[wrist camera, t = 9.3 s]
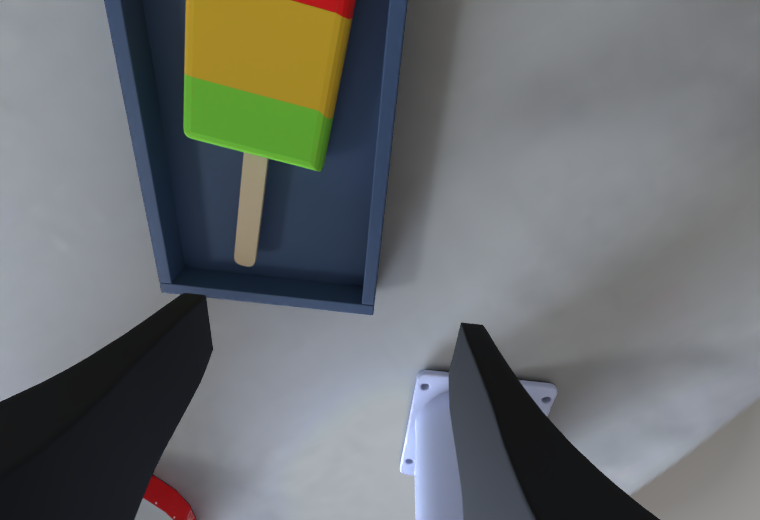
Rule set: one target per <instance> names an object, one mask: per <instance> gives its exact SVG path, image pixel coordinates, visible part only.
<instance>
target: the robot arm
mask: <svg viewBox="0 0 760 520" xmlns="http://www.w3.org/2000/svg"><path fill="white" fill-rule="evenodd" d="M212 351H213V345H212V338H211V331H210V323H209V316H208V308H207V301H206V295H201V294H192V293H183V294H182V295H180V296H178V297H177V298H176V299H174V300H173V301H171V302H170V303H168V304H167V305H166V306H164V307H163V308H161V309H160V310H159V311H157V312H156V313H154V314H153V315H152V316H150V317H149V318H147V319H146V320H144V321H143V322H142V323H140V324H139V325H137V326H136V327H134V328H133V329H131V330H130V331H128V332H127V333H126V334H124V335H123V336H121V337H119V338H118V339H116V340H115V341H113V342H112V343H110V344H108V345H107V346H105V347H104V348H102V349H100V350H99V351H97V352H96V353H94V354H93V355H91V356H89V357H88V358H86V359H84V360H83V361H81V362H79V363H77V364H76V365H74V366H72V367H70V368H69V369H67V370H65V371H63V372H61V373H59V374H57V375H55V376H53V377H52V378H50V379H48V380H46V381H44V382H42V383H40V384H38V385H36V386H33V387H31V388H29V389H27V390H25V391H23V392H20V393H18V394H16V395H14V396H12V397H10V398H8V399H5V400H3V401H1V402H0V520H134V519H135V517H136V514H137V512H138V509H139V507H140V504H141V501H142V499H143V497H144V494H145V492H146V489H147V487H148V485H149V482H150V480H151V477H152V475H153V473H154V470H155V468H156V466H157V464H158V462H159V460H160V458H161V455H162V453H163V451H164V450H165V448H166V446H167V444H168V442H169V440H170V438H171V437H172V435H173V433H174V431H175V429H176V427H177V425H178V424H179V422H180V420H181V418H182V416H183V414H184V413H185V411H186V409H187V407H188V405H189V403H190V401H191V399H192V398H193V396H194V394H195V392H196V390H197V388H198V386H199V384H200V382H201V380H202V378H203V375H204V372H205V370H206V367H207V365H208V362H209V359H210V356H211V354H212ZM423 384H427V385H423ZM556 395H557V389H556V387H555V385H553V384H551V383H544V382H534V381H525V380H518V378H517V377H516V375H515V374H514V373H513V371H512V370H511V368H510V367H509V365H508V364H507V362H506V361H505V359H504V358H503V356H502V355H501V353H500V351H499V350H498V348H497V347H496V345H495V343H494V342H493V340H492V338H491V337H490V335H489V333H488V332H487V330H486V329H485V327H484V326H483V325H478V324H469V323H461V325H460V329H459V333H458V338H457V342H456V346H455V350H454V354H453V358H452V362H451V366H450V370H449V372H442V371H432V370H422V371H420V372H419V373H418V375H417V379H416V384H415V390H414V395H413V400H412V405H411V410H410V416H409V421H408V426H407V431H406V436H405V442H404V447H403V452H402V457H401V462H400V471H401V473H403V474H406V475H415V520H660V519H658V518H657V517H656V516H654V515H653V514H652V513H650V512H649V511H648V510H646V509H645V508H643V507H642V506H641V505H640V504H639V503H637V502H636V501H635V500H634V499H632V498H631V497H630V496H629V495H628V494H626V493H625V492H624V491H623V490H621V489H620V488H619V487H618V486H617V485H615V484H614V483H613V482H612V481H611V480H610V479H609V478H607V477H606V476H605V475H604V474H603V473H602V472H601V471H599V470H598V469H597V468H596V467H595V466H594V465H593V464H592V463H591V462H590V461H589V460H588V459H587V458H586V457H585V456H584V455H583V454H581V453H580V452H579V451H578V450H577V449H576V448H575V447H574V446H573V445H572V444H571V443H570V442H569V441H568V440H567V438H566V437H565V436H564V435H563V434H562V433H561V432H560V431H559V430H558V429H557V428H556V426H555V425H554V424H553V423H552V422H551V421H550V420H549V419H548V417H547V416H548V414H549V412H550V409H551V407H552V405H553V402H554V400H555V398H556ZM544 397H546V398H544Z"/></svg>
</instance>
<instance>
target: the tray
mask: <svg viewBox="0 0 760 520" xmlns="http://www.w3.org/2000/svg"><path fill="white" fill-rule="evenodd" d="M407 1H408V0H356V3H355V8H354V13H353V19H352V24H351V29H350V34H349V39H348V44H347V50H346V55H345V60H344V65H343V70H342V75H341V81H340V86H339V91H338V96H337V101H336V106H335V112H334V117H333V122H332V127H331V132H330V137H329V143H328V148H327V153H326V158H325V163H324V167H323V169H322V170H321V171H320V172H319V171H315V170H311V169H307V168H303V167H299V166H296V165H292V164H288V163H284V162H280V161H276V160H272V159H269V162H268V170H267V178H266V186H265V194H264V202H263V210H262V218H261V226H260V234H259V242H258V250H257V258H256V261H255V263H254V265H253V266H250V267H247V266H242V265H239V264H238V263H236V261H235V259H234V252H235V241H236V231H237V220H238V209H239V198H240V188H241V177H242V166H243V156H244V152H241V151H237V150H233V149H229V148H225V147H221V146H218V145H214V144H210V143H206V142H202V141H198V140H194V139H191V138H188V137H187V136H186V135H185V133H184V129H183V119H184V67H185V15H186V0H104V2H105V7H106V12H107V17H108V22H109V27H110V32H111V38H112V43H113V48H114V53H115V58H116V63H117V68H118V73H119V78H120V83H121V88H122V94H123V99H124V104H125V109H126V114H127V119H128V124H129V129H130V134H131V139H132V145H133V150H134V155H135V160H136V165H137V170H138V175H139V180H140V185H141V190H142V195H143V201H144V206H145V211H146V216H147V221H148V226H149V231H150V236H151V241H152V246H153V251H154V257H155V262H156V267H157V272H158V277H159V282H160V287H161V292H162V293H171V294H181V295H182V294H183V293H192V294H201V295H206V297H208V298H218V299H227V300H236V301H245V302H255V303H264V304H273V305H282V306H291V307H301V308H310V309H319V310H328V311H338V312H347V313H356V314H365V315H373V311H374V302H375V293H376V284H377V275H378V266H379V257H380V247H381V238H382V229H383V220H384V211H385V202H386V193H387V184H388V175H389V165H390V156H391V147H392V138H393V129H394V120H395V111H396V102H397V93H398V83H399V74H400V65H401V56H402V47H403V38H404V29H405V20H406V10H407Z"/></svg>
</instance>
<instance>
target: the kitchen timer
mask: <svg viewBox="0 0 760 520" xmlns="http://www.w3.org/2000/svg"><path fill="white" fill-rule="evenodd" d="M134 520H196V518H195V516H194V514H193V511H192V509H191V507H190V505H189V504H188V503H187V502H186V501H185V500H184V499H183V497H182V496H181V495H180V494H179V493H178V492H177V491H176V490H175V489H173V488H172V487H170V486H169V485H167V484H166V483H164V482H163V481H161V480H160V479H158V478H157V477H155V476H153V475H152V477H151V480H150V482H149V485H148V487H147V489H146V492H145V494H144V497H143V499H142V501H141V504H140V507H139V509H138V512H137V514H136V517H135V519H134Z"/></svg>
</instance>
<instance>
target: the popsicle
mask: <svg viewBox="0 0 760 520" xmlns="http://www.w3.org/2000/svg"><path fill="white" fill-rule="evenodd" d="M355 3H356V0H186V15H185V67H184V119H183V129H184V133H185V135H186V136H187V137H188V138H191V139H194V140H198V141H202V142H206V143H210V144H214V145H218V146H221V147H225V148H229V149H233V150H237V151H241V152H244V156H243V166H242V177H241V188H240V198H239V209H238V220H237V231H236V241H235V252H234V259H235V261H236V263H238V264H239V265H242V266H247V267H250V266H253V265H254V263H255V261H256V258H257V250H258V242H259V234H260V226H261V218H262V210H263V202H264V194H265V186H266V178H267V170H268V162H269V159H272V160H276V161H280V162H284V163H288V164H292V165H296V166H299V167H303V168H307V169H311V170H315V171H319V172H320V171H321V170H322V169H323V167H324V163H325V158H326V153H327V148H328V143H329V137H330V132H331V127H332V122H333V117H334V112H335V106H336V101H337V96H338V91H339V86H340V81H341V75H342V70H343V65H344V60H345V55H346V50H347V44H348V39H349V34H350V29H351V24H352V19H353V13H354V8H355Z"/></svg>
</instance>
